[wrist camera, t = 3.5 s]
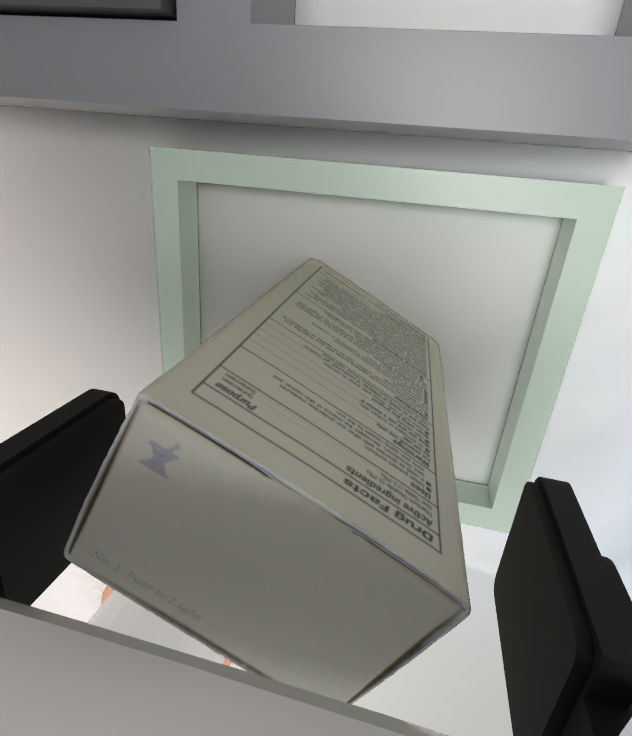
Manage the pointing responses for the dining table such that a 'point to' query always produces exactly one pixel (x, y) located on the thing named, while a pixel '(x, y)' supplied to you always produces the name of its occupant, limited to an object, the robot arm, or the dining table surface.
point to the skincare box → (290, 492)
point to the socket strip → (316, 71)
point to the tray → (441, 188)
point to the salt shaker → (147, 626)
